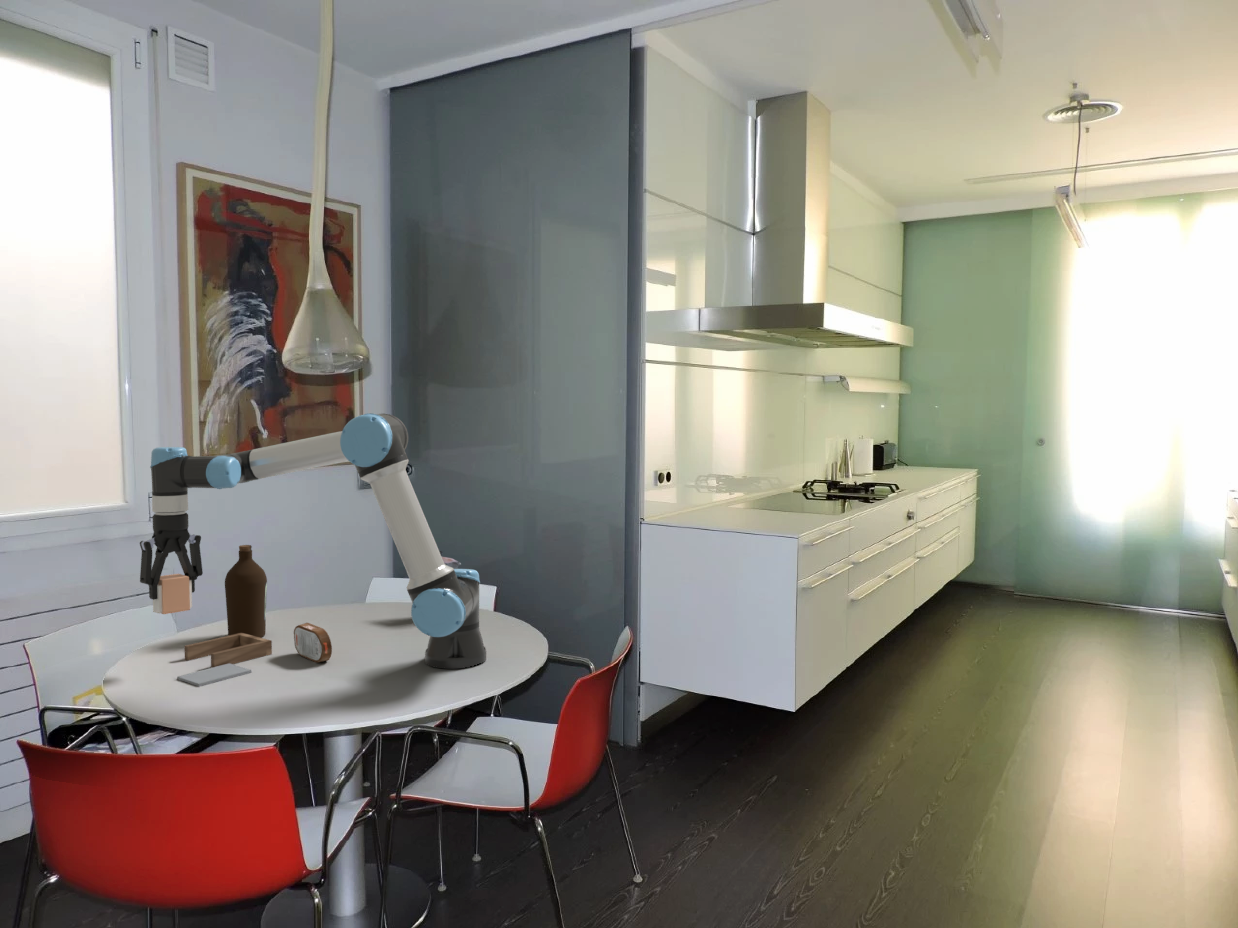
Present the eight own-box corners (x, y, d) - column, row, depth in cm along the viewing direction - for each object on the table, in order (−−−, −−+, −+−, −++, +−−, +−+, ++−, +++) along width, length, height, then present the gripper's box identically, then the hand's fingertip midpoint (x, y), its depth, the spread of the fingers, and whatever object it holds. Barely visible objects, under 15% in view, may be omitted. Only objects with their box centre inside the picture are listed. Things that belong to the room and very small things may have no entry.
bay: (271, 654, 225) (271, 640, 225) (214, 668, 212) (214, 654, 212) (241, 645, 232) (241, 632, 232) (184, 659, 219) (184, 645, 219)
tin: (333, 663, 217) (332, 630, 217) (321, 666, 215) (320, 632, 215) (303, 651, 228) (302, 619, 227) (291, 654, 225) (291, 621, 225)
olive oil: (234, 643, 234) (232, 550, 233) (219, 635, 242) (218, 545, 240) (274, 636, 242) (272, 546, 240) (259, 629, 249) (257, 541, 248)
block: (190, 610, 210) (189, 576, 210) (163, 614, 206) (162, 580, 205) (179, 606, 214) (178, 573, 214) (153, 610, 210) (152, 576, 209)
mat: (251, 672, 210) (251, 669, 210) (199, 686, 199) (199, 683, 199) (229, 665, 215) (229, 663, 215) (177, 679, 204) (177, 676, 204)
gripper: (200, 507, 218) (203, 600, 219) (119, 515, 202) (122, 615, 203) (218, 510, 214) (220, 604, 215) (136, 518, 198) (139, 619, 199)
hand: (172, 609), depth 209 cm, fingers closed on block, 6 cm apart
